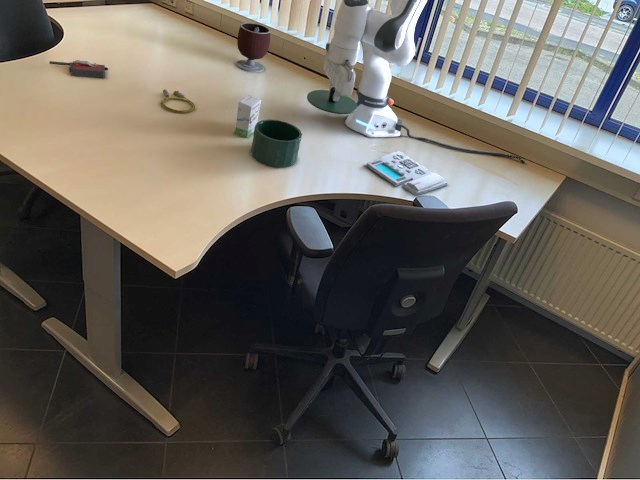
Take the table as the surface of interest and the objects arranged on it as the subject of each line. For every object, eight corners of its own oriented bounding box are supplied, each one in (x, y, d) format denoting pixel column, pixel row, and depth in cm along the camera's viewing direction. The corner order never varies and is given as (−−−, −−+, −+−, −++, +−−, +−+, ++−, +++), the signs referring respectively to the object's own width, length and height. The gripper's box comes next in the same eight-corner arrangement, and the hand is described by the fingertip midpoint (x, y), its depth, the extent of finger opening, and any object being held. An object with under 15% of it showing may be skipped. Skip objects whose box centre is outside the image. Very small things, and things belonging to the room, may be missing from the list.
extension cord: (196, 97, 206) (197, 92, 205) (193, 115, 194) (193, 110, 192) (163, 92, 204) (163, 87, 202) (157, 110, 191) (157, 105, 190)
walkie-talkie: (108, 69, 209) (49, 64, 201) (107, 58, 206) (48, 53, 199) (108, 79, 202) (48, 74, 195) (108, 67, 200) (47, 62, 193)
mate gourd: (233, 58, 247) (239, 13, 235) (264, 63, 250) (271, 18, 239) (235, 71, 235) (241, 24, 223) (267, 76, 238) (274, 30, 227)
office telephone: (449, 179, 192) (416, 192, 179) (447, 185, 193) (413, 198, 180) (400, 147, 203) (365, 157, 190) (398, 153, 205) (363, 164, 192)
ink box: (246, 138, 189) (251, 106, 182) (233, 133, 190) (238, 102, 183) (256, 129, 196) (261, 99, 189) (244, 125, 196) (248, 94, 189)
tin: (290, 146, 191) (295, 121, 186) (300, 168, 180) (306, 143, 174) (247, 143, 186) (251, 117, 181) (255, 166, 175) (259, 140, 169)
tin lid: (347, 95, 182) (351, 80, 179) (363, 118, 170) (367, 102, 167) (301, 91, 177) (304, 75, 174) (313, 114, 165) (316, 97, 162)
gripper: (363, 69, 157) (352, 113, 165) (343, 43, 172) (334, 85, 181) (343, 66, 155) (332, 111, 163) (324, 41, 170) (315, 83, 179)
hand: (333, 97), depth 172 cm, fingers closed on tin lid, 2 cm apart
